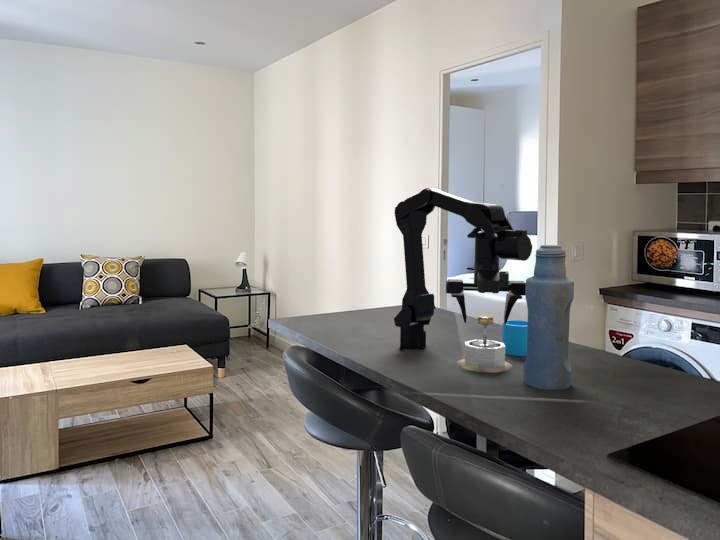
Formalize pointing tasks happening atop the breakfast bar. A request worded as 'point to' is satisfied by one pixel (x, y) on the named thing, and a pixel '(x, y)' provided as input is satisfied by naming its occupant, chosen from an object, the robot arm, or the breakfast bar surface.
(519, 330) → the mug
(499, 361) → the grey piece
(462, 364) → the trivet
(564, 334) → the bottle
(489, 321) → the plunger
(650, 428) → the breakfast bar surface
